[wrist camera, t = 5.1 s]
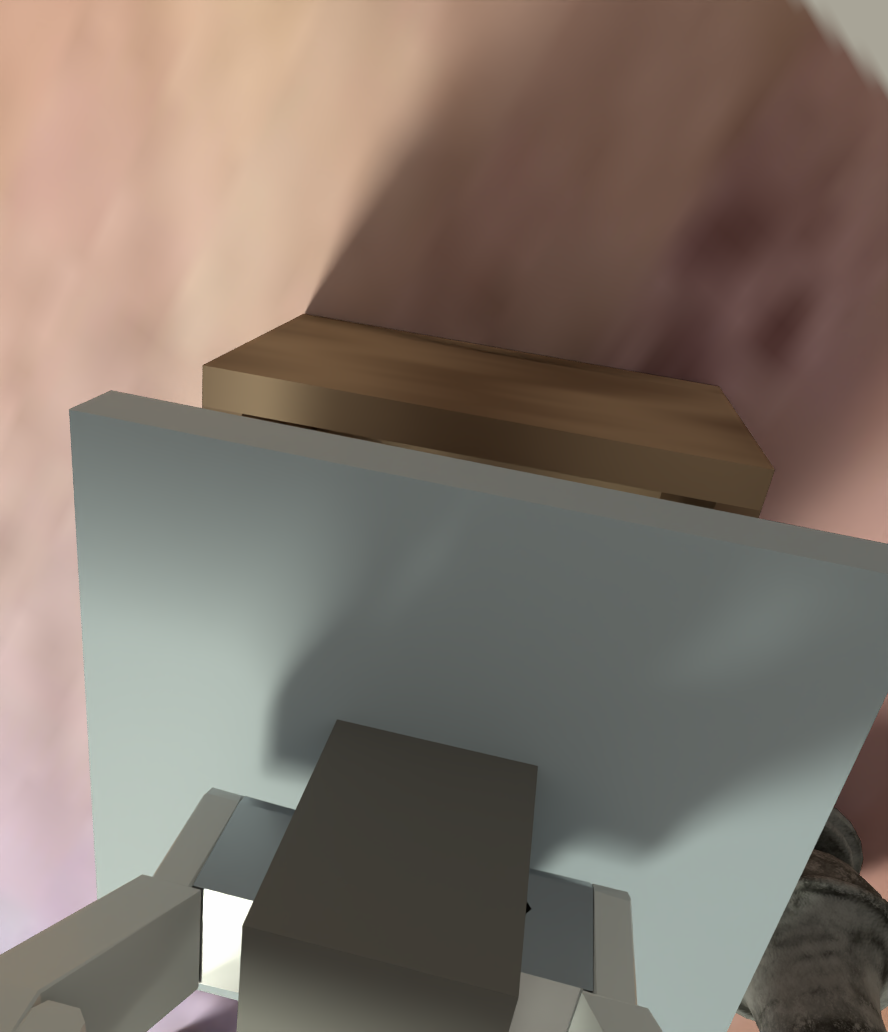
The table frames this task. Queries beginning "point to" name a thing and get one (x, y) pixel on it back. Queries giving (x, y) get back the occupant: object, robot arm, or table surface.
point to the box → (497, 410)
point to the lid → (459, 707)
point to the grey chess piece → (825, 947)
